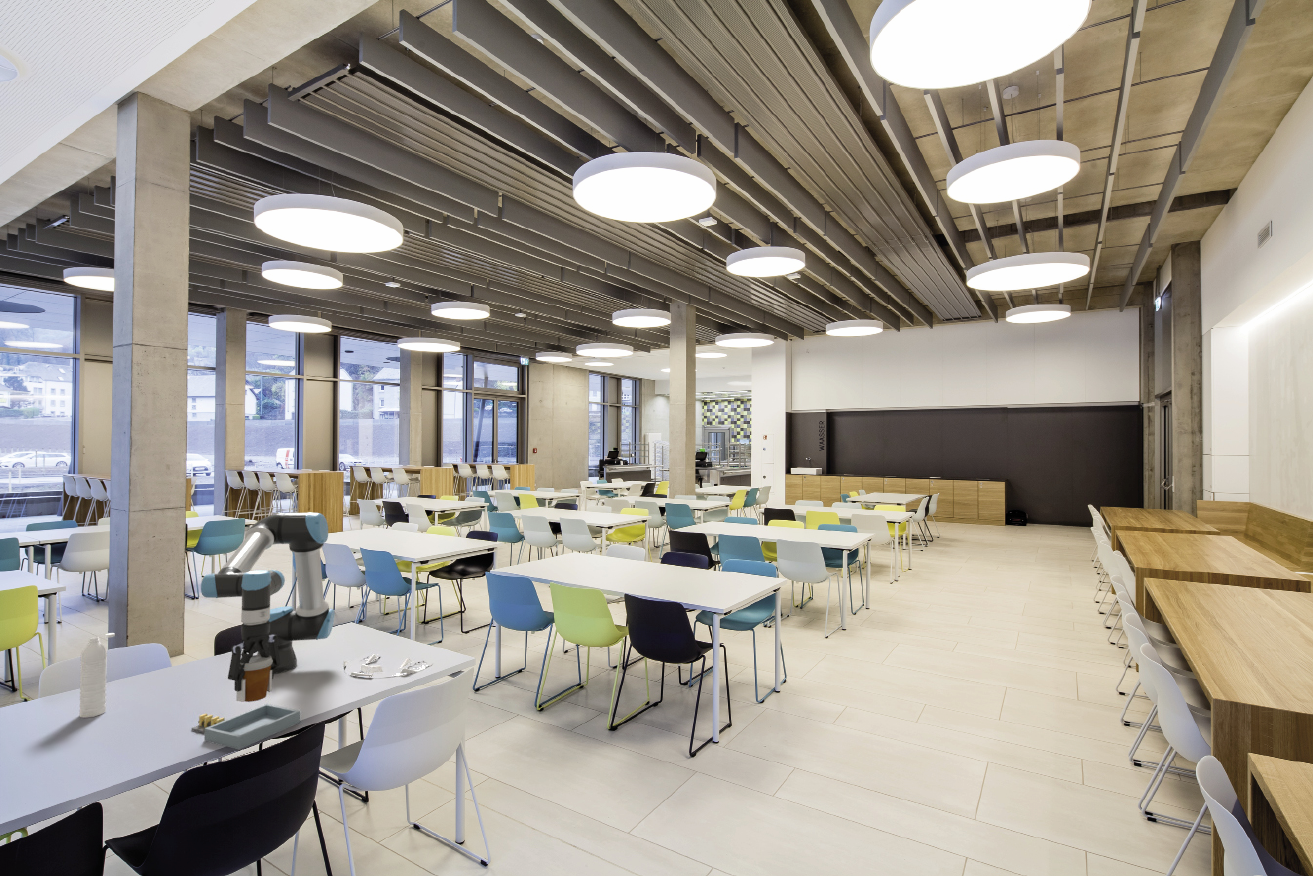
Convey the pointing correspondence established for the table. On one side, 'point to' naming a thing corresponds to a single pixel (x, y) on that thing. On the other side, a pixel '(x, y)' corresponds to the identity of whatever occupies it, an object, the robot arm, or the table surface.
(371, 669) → the cable organizer
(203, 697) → the table surface
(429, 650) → the table surface
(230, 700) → the table surface
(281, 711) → the shallow rectangular grey tray
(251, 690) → the disposable coffee cup
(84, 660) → the water bottle
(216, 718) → the clip
